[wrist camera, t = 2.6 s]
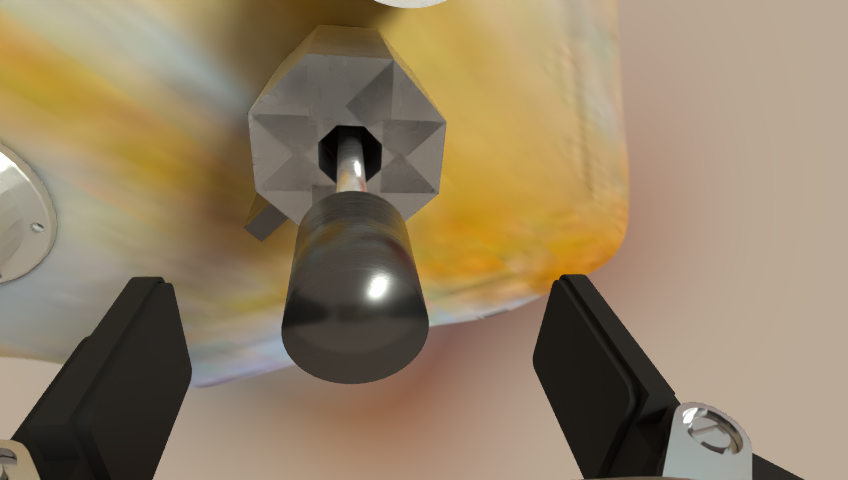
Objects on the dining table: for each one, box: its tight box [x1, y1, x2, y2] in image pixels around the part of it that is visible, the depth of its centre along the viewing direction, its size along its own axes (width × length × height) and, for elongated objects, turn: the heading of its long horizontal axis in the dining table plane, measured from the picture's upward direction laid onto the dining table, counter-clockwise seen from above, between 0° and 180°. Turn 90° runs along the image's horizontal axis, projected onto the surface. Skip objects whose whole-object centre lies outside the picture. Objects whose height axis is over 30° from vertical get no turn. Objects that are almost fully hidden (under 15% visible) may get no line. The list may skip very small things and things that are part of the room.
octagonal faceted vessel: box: [244, 24, 447, 241], centre depth 28 cm, size 12×9×12 cm
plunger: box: [282, 125, 429, 384], centre depth 19 cm, size 4×4×17 cm
